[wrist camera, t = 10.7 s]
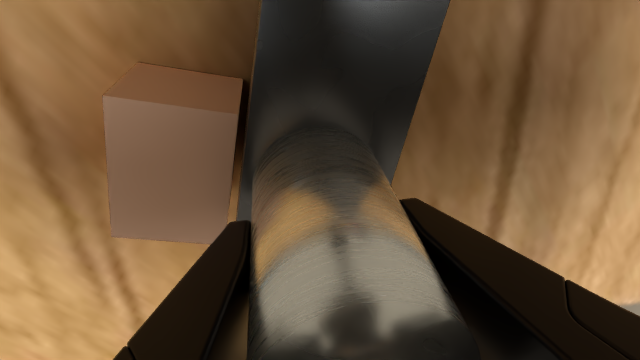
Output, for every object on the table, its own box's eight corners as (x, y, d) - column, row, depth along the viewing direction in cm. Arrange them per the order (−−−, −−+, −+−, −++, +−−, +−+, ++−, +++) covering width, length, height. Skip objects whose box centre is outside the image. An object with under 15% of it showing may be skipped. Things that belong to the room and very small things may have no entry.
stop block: (137, 62, 12) (102, 95, 9) (242, 79, 12) (238, 114, 10) (139, 181, 13) (111, 237, 11) (230, 190, 14) (224, 245, 11)
